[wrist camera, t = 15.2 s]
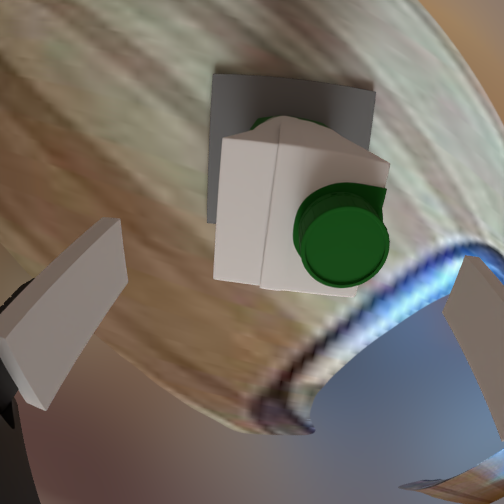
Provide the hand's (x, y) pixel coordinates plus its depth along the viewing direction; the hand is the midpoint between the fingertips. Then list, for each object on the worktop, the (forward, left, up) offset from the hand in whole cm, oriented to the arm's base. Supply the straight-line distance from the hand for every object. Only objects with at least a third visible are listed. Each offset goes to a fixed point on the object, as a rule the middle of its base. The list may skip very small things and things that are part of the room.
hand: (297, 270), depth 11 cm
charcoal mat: (0, 0, -23) cm, 23 cm away
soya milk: (0, 0, -23) cm, 23 cm away
